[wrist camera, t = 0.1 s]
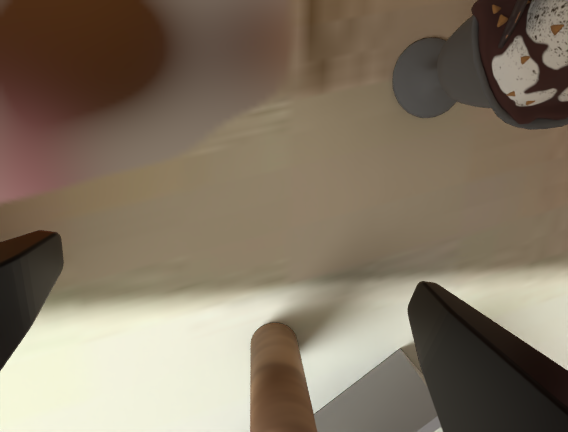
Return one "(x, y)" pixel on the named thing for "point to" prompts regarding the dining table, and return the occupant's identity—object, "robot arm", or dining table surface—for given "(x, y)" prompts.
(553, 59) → the sundae
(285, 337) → the peg
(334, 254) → the dining table surface
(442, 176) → the dining table surface
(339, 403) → the box
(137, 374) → the dining table surface
